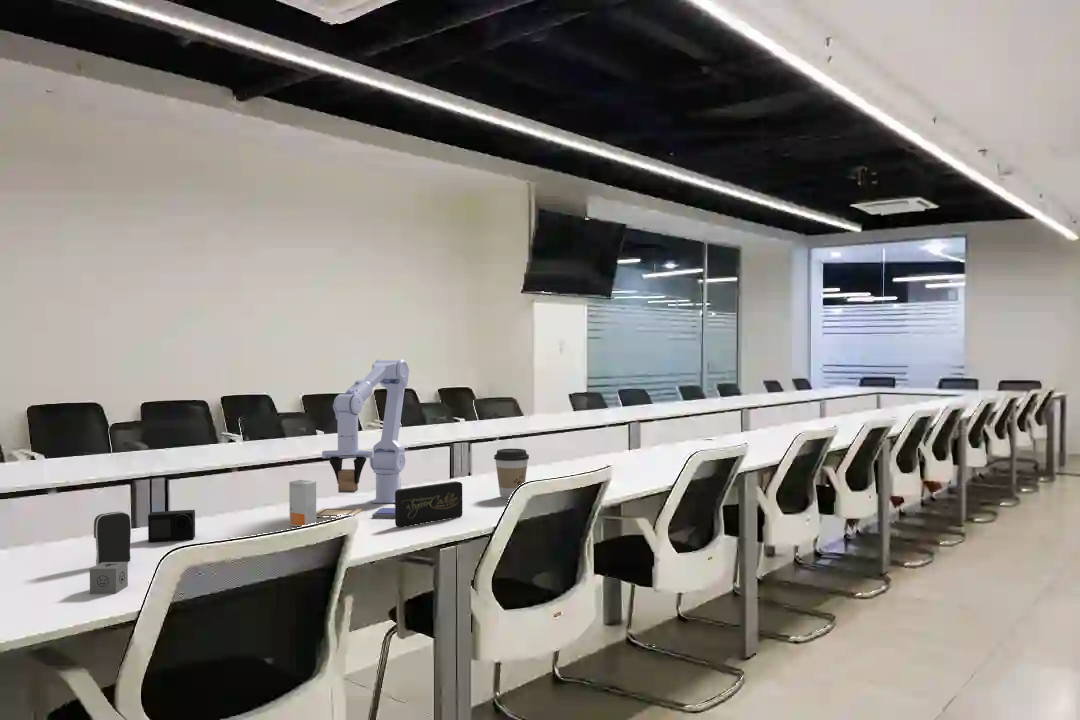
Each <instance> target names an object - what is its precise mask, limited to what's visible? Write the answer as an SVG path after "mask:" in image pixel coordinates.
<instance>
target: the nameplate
mask: <svg viewBox="0 0 1080 720" xmlns="http://www.w3.org/2000/svg"><path fill="white" fill-rule="evenodd" d="M394 508H395V518H394V521H395V522H394V524H395V526H396V527H398V528H401V527H402V528H405V527H404V526H407V527H411V526H410V525H413V526H416V525H415V524H418V525H421V524H420V523H424V524H427V523H426V522H430V523H432V522H431V521H435V522H439V521H438V520H441V521H444V520H443V519H447V520H450V519H449V518H452V519H457V518H456V517H458V518H461V517H462V516H463V483H462V482H461V481H449V482H442V483H435V484H428V485H420V486H412V487H406V488H401V489H398V490H396V492H395V503H394Z"/></svg>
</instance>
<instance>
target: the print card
mask: <svg viewBox="0 0 1080 720" xmlns="http://www.w3.org/2000/svg"><path fill="white" fill-rule="evenodd" d="M361 510H362V511H363V508H351V507H350V508H338V507H337V508H330V507H329V508H328V507H327V508H325V507H322V508H321V509H319V510H318V511H317V510H316V517H323V516H329V517H331V516H336V517H339V516H337V515H338V514H343V515H349V514H353V513H354V514H353V515H355V514H356V515H358V514H359V513H361V512H362V511H361ZM358 512H359V513H358ZM344 513H346V514H344ZM357 513H358V514H357ZM356 515H355V516H356ZM340 516H341V515H340Z"/></svg>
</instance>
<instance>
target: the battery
mask: <svg viewBox="0 0 1080 720" xmlns="http://www.w3.org/2000/svg"><path fill="white" fill-rule="evenodd" d="M131 527H132V524H131V518H130V515H129V513H127V512H125V511H113V512H104V513H101V514H98V515H97V516H95V518H94V520H93V538H94V539H95V548H96V559H95V561H96V562H95V564H96V565H98V564H100V563H102V562H128V563H129V562H130V561H131ZM96 565H95V566H96Z"/></svg>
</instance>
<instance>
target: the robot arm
mask: <svg viewBox="0 0 1080 720" xmlns="http://www.w3.org/2000/svg"><path fill="white" fill-rule="evenodd" d="M371 366H372V367H371V370H370V372H369V373H367V375H366V376H365V378H364V379H356V380H355V381H354V383H353V384H352V385H351V386H350V387H349V388H348V389H347V390H346V391H345V392H344V393H339V394H338V395H337V396H336V397H335V398H334V401H333V404H332V409H333V411H334V413H335V420H336V421H337V450H323V451H321V454H322V455H321V458H322V459H329V460H328V461H329V464H330V466H331V467H332V470H333V472H334V474H335V477H336V478H335V479H336V481H337V485H338V471H340V470H342V469H343V459H353V469H355V484H358V485H359V483H360V479H361V474H362V470H363V468H364V466H365V464H366V461H367V459H369V466H370V468H371V469H372V471H373V473H374V474H375V499H373V500H372V501H371V503H372V504H378V503H379V504H395V492H396V490H398V489H402V477H401V475H400V473H402V471H403V469H404V467H405V466H406V457H405V456H406V455H405V453H406V452H405V451H406V450H405V449H406V448H404V446H403V445H401V443H399V435H400V427H401V418H402V413H403V412H402V411H403V406H404V405H403V403H404V396H405V395H404V394H405V388H407V387H408V382H409V373H410V368H409V365H408V363H407V361H406V360H405V359H380V358H379V359H376V360H375V361H374V362H373V363H372V365H371ZM378 384H380V386H381V387H383V388H385V389H386V392H387V393H386V401H385V406H384V407H385V408H384V415H383V416H384V417H383V423H382V430H381V431H382V432H381V438H380V440H379V441H378V442H377V443H376V444H374V445H373V448H372V450H363V449H362V450H359V414H360V413H361V412H362V409H363V406H364V403H365V402H366V401H367V400H368V399H369V398H370V396H372V394H373V388H374V387H376V386H377V385H378Z"/></svg>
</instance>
